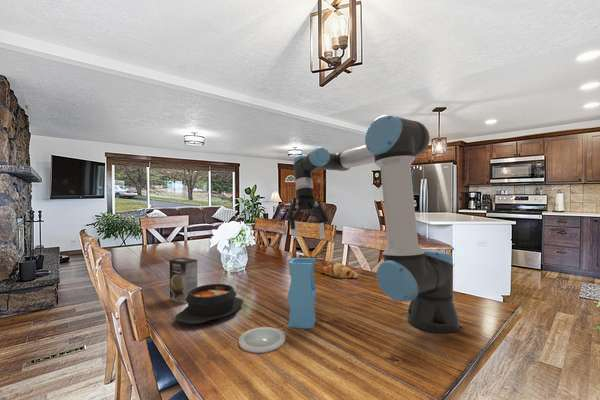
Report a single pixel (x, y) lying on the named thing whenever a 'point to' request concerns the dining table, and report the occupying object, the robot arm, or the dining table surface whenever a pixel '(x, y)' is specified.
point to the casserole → (209, 303)
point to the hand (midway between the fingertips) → (309, 237)
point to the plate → (261, 339)
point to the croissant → (339, 271)
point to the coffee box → (182, 278)
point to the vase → (302, 293)
